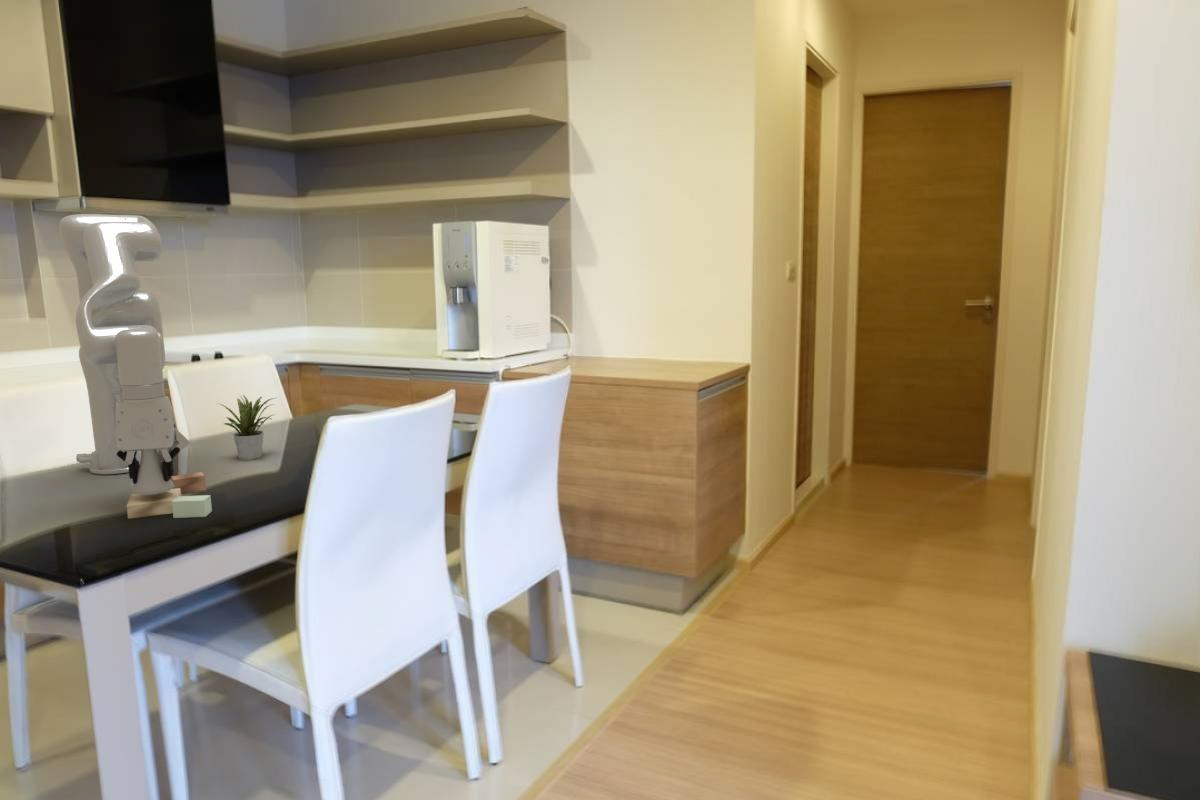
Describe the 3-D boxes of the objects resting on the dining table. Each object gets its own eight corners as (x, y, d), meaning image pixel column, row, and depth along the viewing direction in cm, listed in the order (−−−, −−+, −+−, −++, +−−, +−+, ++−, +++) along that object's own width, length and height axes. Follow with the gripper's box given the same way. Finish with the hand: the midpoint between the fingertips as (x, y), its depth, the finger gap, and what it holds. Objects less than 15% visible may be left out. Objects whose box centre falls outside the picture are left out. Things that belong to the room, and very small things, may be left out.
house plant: (297, 453, 207) (293, 391, 204) (255, 466, 194) (249, 400, 191) (256, 448, 212) (251, 387, 209) (212, 460, 200) (206, 396, 197)
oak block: (128, 520, 157) (126, 506, 156) (132, 507, 165) (131, 493, 164) (180, 514, 161) (178, 499, 160) (181, 501, 169) (180, 488, 168)
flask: (156, 497, 158) (150, 448, 156) (124, 495, 159) (118, 446, 157) (181, 486, 165) (177, 439, 163) (151, 484, 166) (146, 437, 164)
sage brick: (173, 518, 157) (171, 501, 156) (180, 513, 160) (178, 496, 160) (205, 517, 158) (204, 500, 157) (212, 511, 161) (210, 495, 161)
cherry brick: (175, 495, 172) (173, 480, 171) (172, 491, 175) (171, 476, 174) (206, 490, 175) (204, 475, 175) (202, 487, 178) (201, 472, 177)
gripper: (87, 397, 152) (98, 489, 156) (186, 393, 157) (195, 482, 160) (100, 390, 160) (110, 479, 163) (194, 386, 164) (202, 472, 168)
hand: (152, 479), depth 162 cm, fingers closed on flask, 4 cm apart
